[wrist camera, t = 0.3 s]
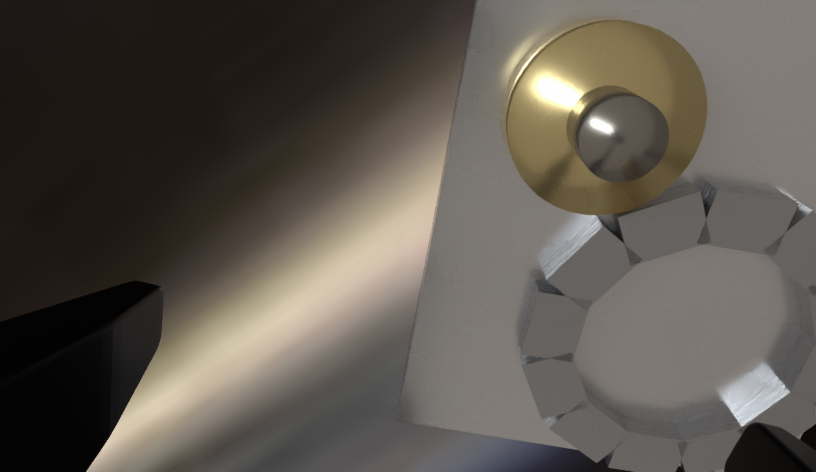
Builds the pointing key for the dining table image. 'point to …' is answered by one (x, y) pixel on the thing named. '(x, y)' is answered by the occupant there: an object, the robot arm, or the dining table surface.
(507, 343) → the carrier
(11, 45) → the dining table surface
